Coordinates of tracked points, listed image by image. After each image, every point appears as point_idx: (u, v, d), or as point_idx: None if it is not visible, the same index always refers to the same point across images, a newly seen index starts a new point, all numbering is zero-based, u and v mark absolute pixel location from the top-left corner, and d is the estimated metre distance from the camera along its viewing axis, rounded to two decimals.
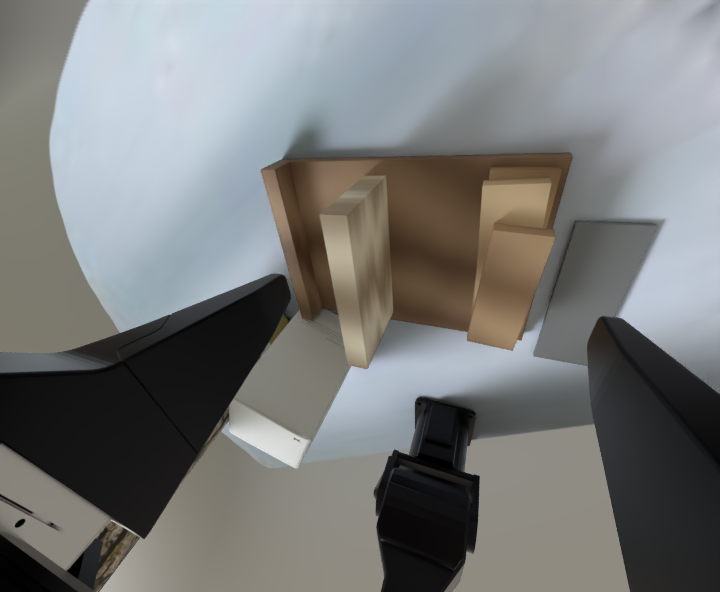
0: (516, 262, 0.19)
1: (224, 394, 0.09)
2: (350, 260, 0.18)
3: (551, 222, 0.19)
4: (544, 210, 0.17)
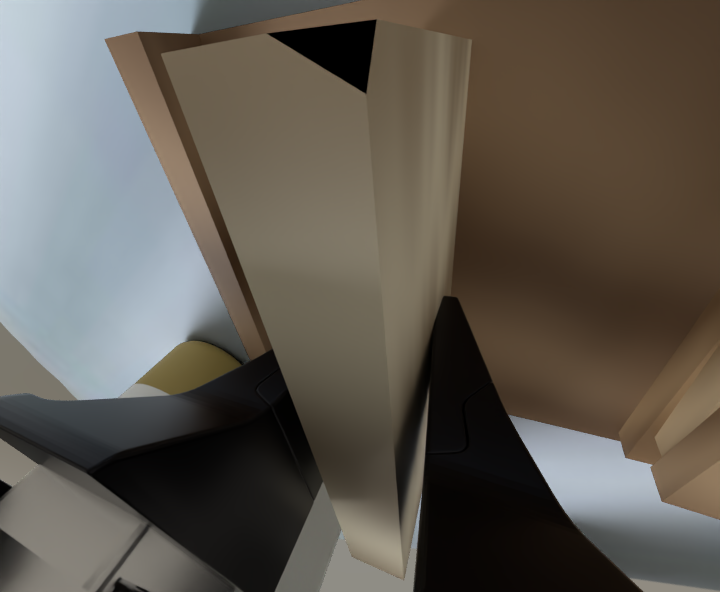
0: None
1: None
2: (373, 346, 0.03)
3: None
4: None
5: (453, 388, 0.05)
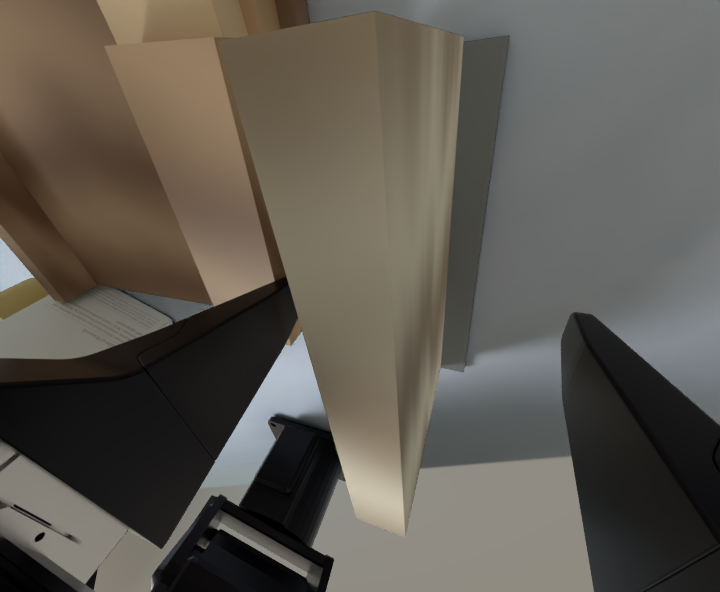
0: (189, 136, 0.08)
1: (241, 399, 0.09)
2: (380, 286, 0.04)
3: None
4: None
5: (684, 440, 0.04)
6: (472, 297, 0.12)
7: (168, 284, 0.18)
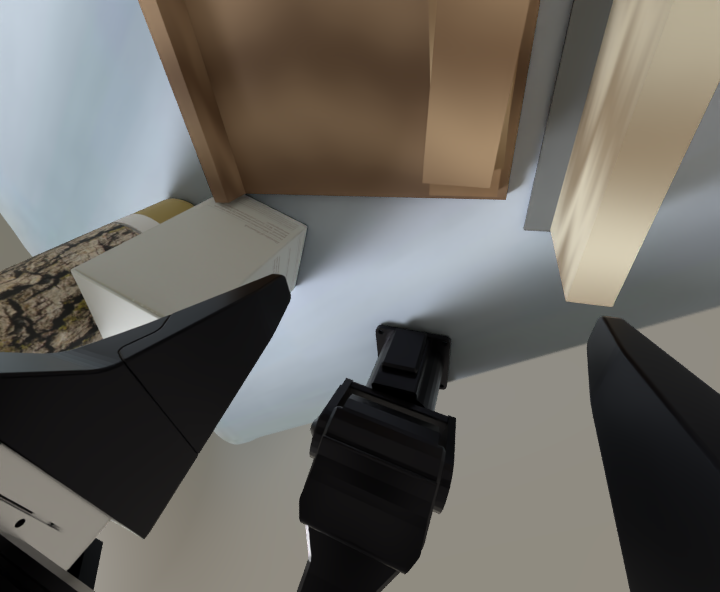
0: None
1: (224, 394, 0.09)
2: None
3: None
4: None
5: None
6: None
7: (327, 180, 0.21)
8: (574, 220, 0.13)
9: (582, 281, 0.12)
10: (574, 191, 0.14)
